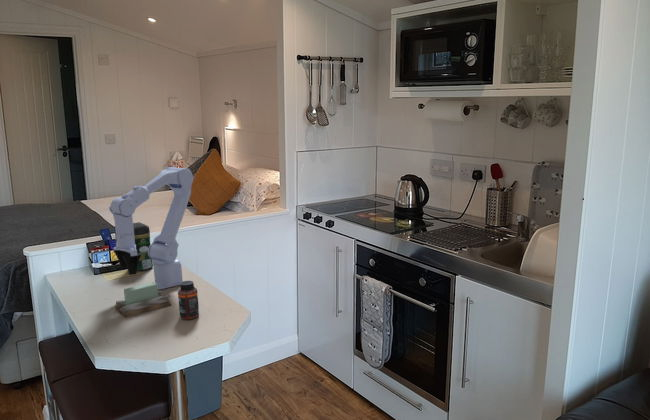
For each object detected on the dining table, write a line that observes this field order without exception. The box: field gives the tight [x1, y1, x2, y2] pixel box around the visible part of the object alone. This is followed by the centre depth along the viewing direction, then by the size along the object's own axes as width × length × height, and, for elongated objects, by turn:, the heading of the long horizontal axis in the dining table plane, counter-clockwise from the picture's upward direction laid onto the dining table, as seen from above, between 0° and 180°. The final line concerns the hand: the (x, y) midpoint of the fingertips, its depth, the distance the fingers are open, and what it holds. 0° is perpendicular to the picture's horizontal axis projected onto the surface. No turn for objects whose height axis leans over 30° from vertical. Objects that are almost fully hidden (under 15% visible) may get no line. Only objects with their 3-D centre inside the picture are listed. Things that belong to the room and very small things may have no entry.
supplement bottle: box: [177, 280, 200, 321], centre depth 164 cm, size 6×6×11 cm
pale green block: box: [123, 281, 159, 306], centre depth 173 cm, size 10×3×6 cm, turn 129°
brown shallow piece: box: [114, 289, 172, 318], centre depth 174 cm, size 15×10×3 cm, turn 129°
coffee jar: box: [133, 221, 154, 272], centre depth 212 cm, size 10×8×19 cm
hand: (128, 271), depth 180 cm, fingers open, 7 cm apart
